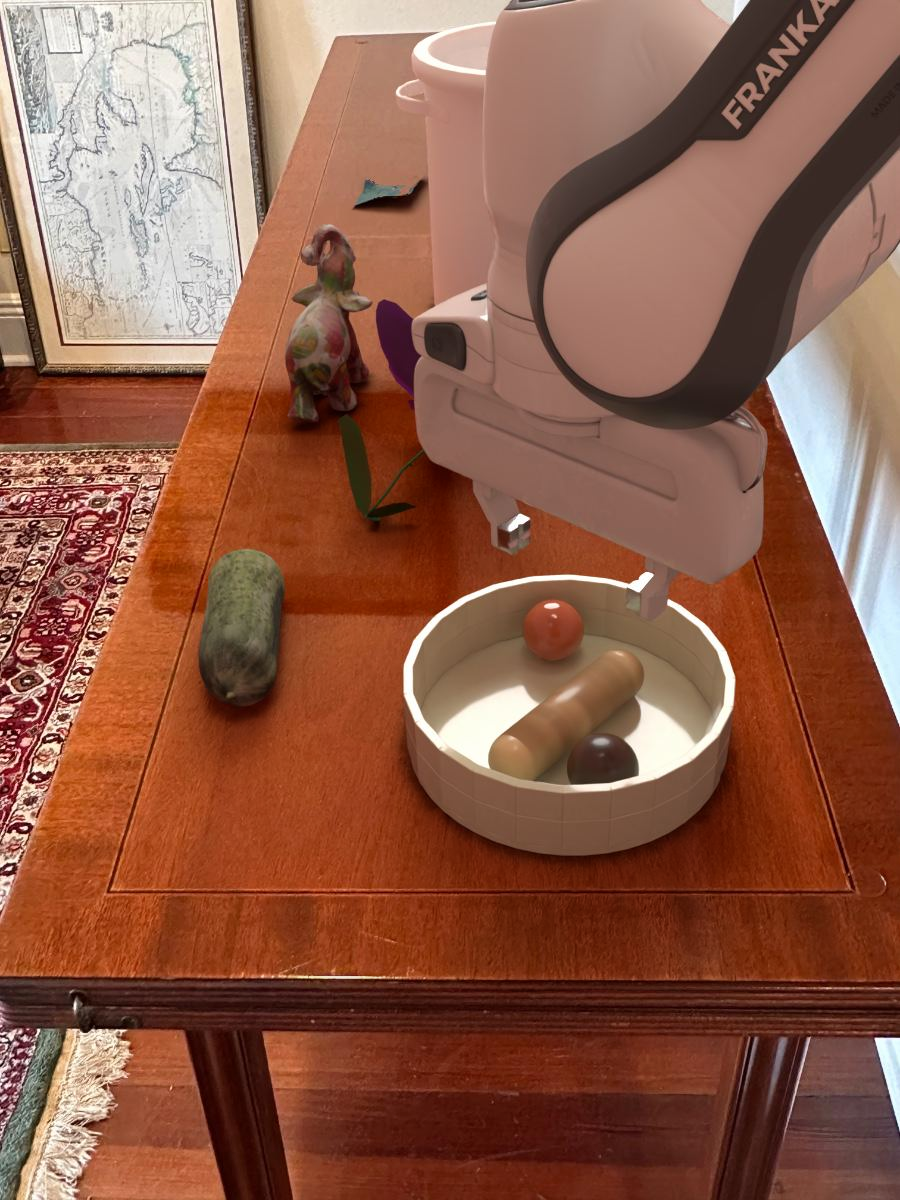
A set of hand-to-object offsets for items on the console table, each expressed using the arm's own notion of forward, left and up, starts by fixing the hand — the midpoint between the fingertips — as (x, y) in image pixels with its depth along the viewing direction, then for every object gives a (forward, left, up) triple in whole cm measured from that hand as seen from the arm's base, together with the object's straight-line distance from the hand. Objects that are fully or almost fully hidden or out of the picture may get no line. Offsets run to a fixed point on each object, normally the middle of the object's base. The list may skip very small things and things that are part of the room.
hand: (575, 577), depth 66 cm
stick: (+1, 0, -11) cm, 11 cm away
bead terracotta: (+2, -7, -9) cm, 12 cm away
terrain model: (+37, -95, -12) cm, 102 cm away
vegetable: (+22, -3, -12) cm, 26 cm away
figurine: (+28, -39, -12) cm, 50 cm away
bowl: (0, 0, -12) cm, 12 cm away
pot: (+13, -62, -12) cm, 64 cm away
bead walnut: (-2, +5, -9) cm, 11 cm away
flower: (+15, -25, -12) cm, 32 cm away
